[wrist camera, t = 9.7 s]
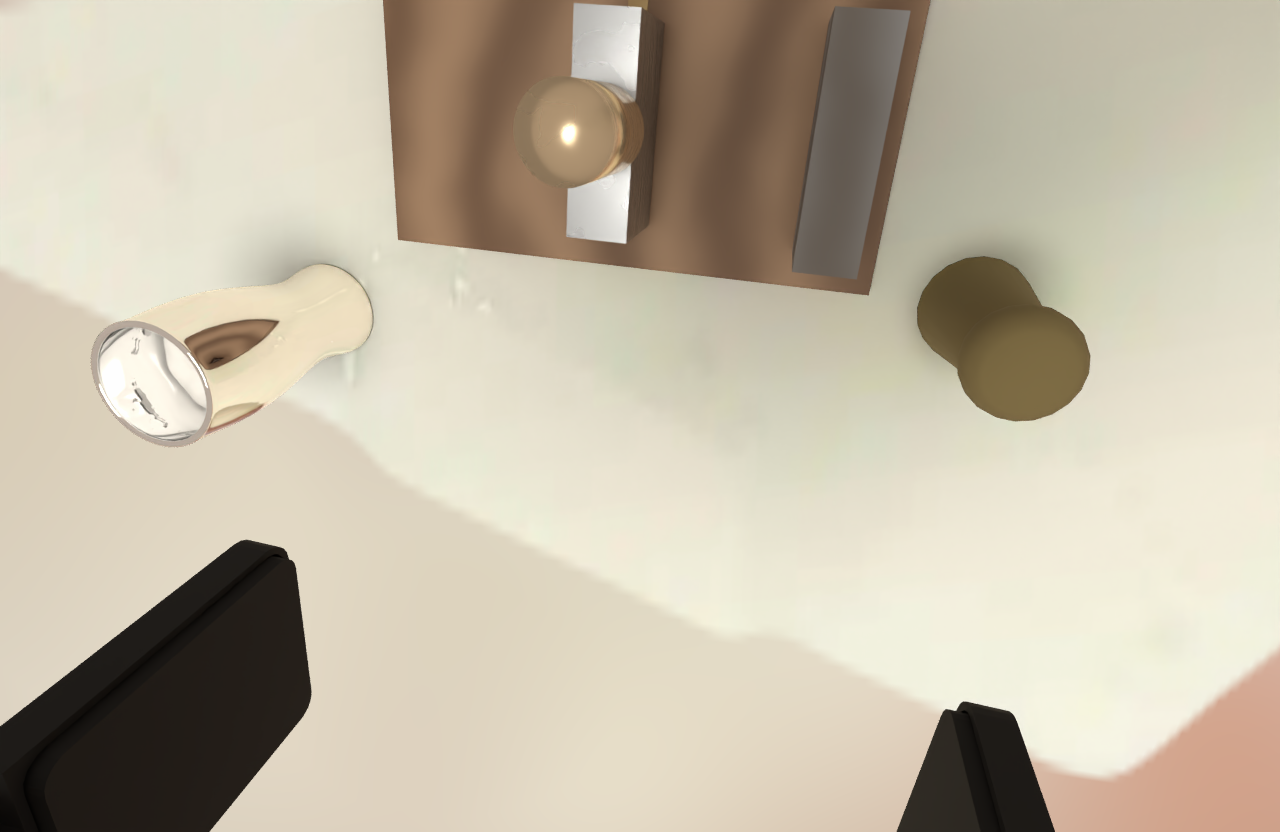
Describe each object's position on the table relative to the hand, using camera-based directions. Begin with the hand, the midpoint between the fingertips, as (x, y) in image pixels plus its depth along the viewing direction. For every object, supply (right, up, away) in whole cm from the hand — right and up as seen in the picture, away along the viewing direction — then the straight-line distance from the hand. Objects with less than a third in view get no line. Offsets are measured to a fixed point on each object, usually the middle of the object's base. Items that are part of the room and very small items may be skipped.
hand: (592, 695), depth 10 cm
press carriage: (0, +19, +28) cm, 34 cm away
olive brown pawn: (+19, +10, +30) cm, 37 cm away
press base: (0, +20, +30) cm, 36 cm away
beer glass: (-20, +11, +38) cm, 44 cm away
